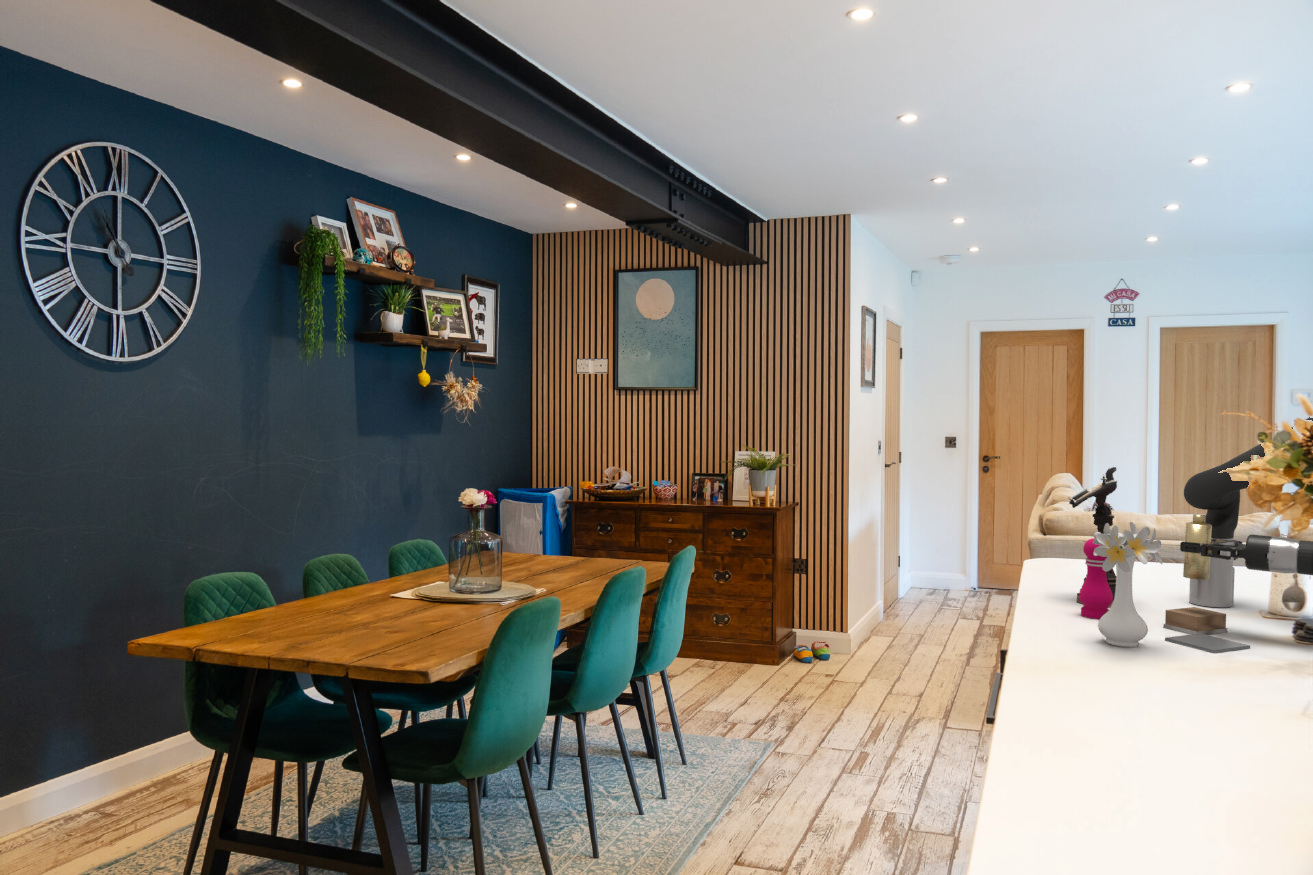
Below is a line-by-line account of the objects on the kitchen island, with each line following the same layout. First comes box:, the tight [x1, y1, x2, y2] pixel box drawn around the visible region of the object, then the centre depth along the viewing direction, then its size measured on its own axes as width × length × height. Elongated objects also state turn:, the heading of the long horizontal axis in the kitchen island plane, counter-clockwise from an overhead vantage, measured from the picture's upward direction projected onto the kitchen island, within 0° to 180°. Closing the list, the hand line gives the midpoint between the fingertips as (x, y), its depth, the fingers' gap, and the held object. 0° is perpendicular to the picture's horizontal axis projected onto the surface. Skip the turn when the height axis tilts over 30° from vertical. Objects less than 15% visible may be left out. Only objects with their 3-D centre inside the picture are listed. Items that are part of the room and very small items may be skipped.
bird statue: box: [1067, 466, 1118, 609], centre depth 237 cm, size 17×13×35 cm
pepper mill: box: [1079, 531, 1113, 620], centre depth 221 cm, size 7×7×20 cm
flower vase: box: [1093, 521, 1163, 648], centre depth 194 cm, size 13×18×25 cm
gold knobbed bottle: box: [1182, 513, 1212, 580], centre depth 208 cm, size 5×5×14 cm
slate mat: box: [1164, 633, 1251, 654], centre depth 196 cm, size 11×11×1 cm
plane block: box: [1162, 606, 1228, 635], centre depth 209 cm, size 10×8×4 cm
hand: (1184, 544), depth 210 cm, fingers closed on gold knobbed bottle, 5 cm apart
